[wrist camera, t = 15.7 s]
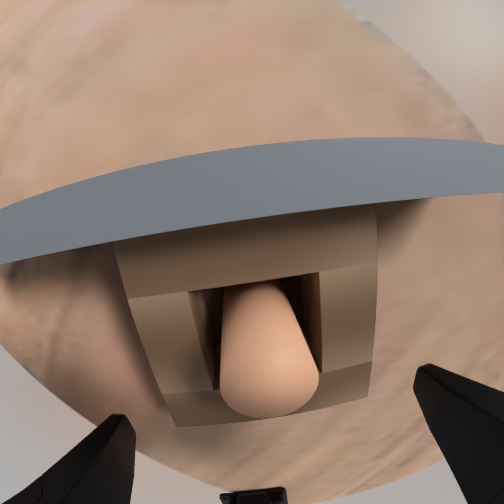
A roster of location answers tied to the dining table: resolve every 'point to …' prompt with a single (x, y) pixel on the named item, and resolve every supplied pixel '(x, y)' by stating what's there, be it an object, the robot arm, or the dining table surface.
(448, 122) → the dining table surface
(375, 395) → the dining table surface
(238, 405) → the dowel
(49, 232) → the bar
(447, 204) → the dining table surface
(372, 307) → the block
